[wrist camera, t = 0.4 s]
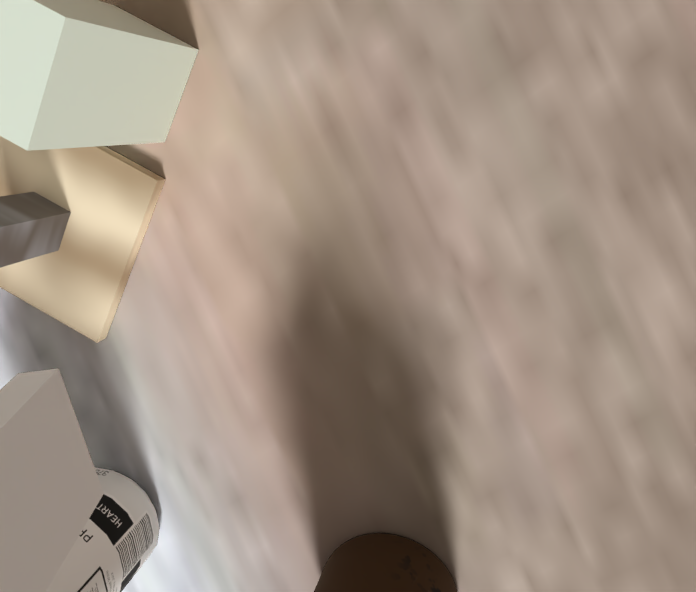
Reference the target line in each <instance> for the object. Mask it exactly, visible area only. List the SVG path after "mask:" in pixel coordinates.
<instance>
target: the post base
mask: <svg viewBox="0 0 696 592" xmlns="http://www.w3.org/2000/svg"><path fill="white" fill-rule="evenodd" d="M164 182H165V179H164V178H162V177H160V176H159V175H157V174H155V173H153V172H151V171H149V170H148V169H146V168H144V167H142V166H140V165H138V164H137V163H135V162H133V161H131V160H129V159H127V158H126V157H124V156H122V155H120V154H118V153H116V152H115V151H113V150H111V149H109V148H107V147H105V146H96V147H79V148H63V149H47V150H31V151H27V150H25V149H23V148H21V147H20V146H18V145H16V144H14V143H12V142H11V141H9V140H7V139H5V138H3V137H1V136H0V287H1V288H2V289H4V290H6V291H8V292H9V293H11V294H13V295H15V296H16V297H18V298H20V299H22V300H23V301H25V302H27V303H29V304H30V305H32V306H34V307H36V308H37V309H39V310H41V311H43V312H44V313H46V314H48V315H50V316H51V317H53V318H55V319H57V320H58V321H60V322H62V323H64V324H65V325H67V326H69V327H71V328H72V329H74V330H76V331H77V332H79V333H81V334H83V335H84V336H86V337H88V338H90V339H91V340H93V341H95V342H97V343H98V342H100V341H102V340H104V339H105V338H106V337H107V334H108V332H109V329H110V326H111V324H112V321H113V318H114V316H115V313H116V310H117V308H118V305H119V302H120V300H121V297H122V294H123V292H124V289H125V286H126V284H127V281H128V278H129V276H130V273H131V270H132V268H133V265H134V262H135V260H136V257H137V254H138V252H139V249H140V246H141V244H142V241H143V238H144V235H145V233H146V230H147V227H148V225H149V222H150V219H151V217H152V214H153V211H154V209H155V206H156V203H157V201H158V198H159V195H160V193H161V190H162V187H163V185H164Z"/></svg>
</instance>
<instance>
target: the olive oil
mask: <svg viewBox="0 0 696 592" xmlns="http://www.w3.org/2000/svg"><path fill="white" fill-rule="evenodd" d="M314 592H457V590H456V586H455V583H454V580H453V578H452V576H451V574H450V572H449V571H448V569H447V568H446V566H445V565H444V564H443V563H442V561H441V560H440V559H439V558H438V557H437V556H436V555H434V554H433V553H432V552H431V551H430V550H428V549H427V548H425V547H424V546H422V545H420V544H419V543H417V542H415V541H412V540H410V539H407V538H405V537H401V536H397V535H392V534H384V533H374V534H366V535H362V536H358V537H355V538H353V539H351V540H349V541H347V542H345V543H344V544H342V545H341V546H340V547H338V548H337V549H336V550H335V551H334V553H333V554H332V555H331V556H330V558H329V559H328V561H327V563H326V565H325V567H324V569H323V572H322V574H321V576H320V579H319V581H318V584H317V586H316V588H315V591H314Z"/></svg>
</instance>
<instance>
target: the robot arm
mask: <svg viewBox="0 0 696 592" xmlns="http://www.w3.org/2000/svg"><path fill="white" fill-rule="evenodd" d="M103 494H104V492H103V489H102V487H101V484H100V481H99V478H98V475H97V473H96V470H95V467H94V464H93V462H92V459H91V456H90V453H89V451H88V448H87V445H86V442H85V439H84V437H83V434H82V431H81V428H80V426H79V423H78V420H77V417H76V415H75V412H74V409H73V406H72V404H71V401H70V398H69V395H68V392H67V390H66V387H65V384H64V381H63V379H62V376H61V373H60V370H59V368H57V369H49V370H41V371H33V372H25V373H18V374H17V375H16V376H15V377H14V378H13V379H12V380H10V381H9V382H8V383H7V384H6V385H5V386H4V387H3V388H2V389H1V390H0V592H46V591H47V589H48V587H49V585H50V584H51V582H52V580H53V579H54V577H55V575H56V574H57V572H58V570H59V569H60V567H61V565H62V563H63V562H64V560H65V558H66V557H67V555H68V553H69V552H70V550H71V548H72V547H73V545H74V543H75V542H76V540H77V538H78V536H79V535H80V533H81V531H82V530H83V528H84V526H85V525H86V523H87V521H88V520H89V518H90V516H91V514H92V513H93V511H94V509H95V508H96V506H97V504H98V503H99V501H100V499H101V498H102V496H103Z"/></svg>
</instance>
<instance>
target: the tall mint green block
mask: <svg viewBox="0 0 696 592" xmlns="http://www.w3.org/2000/svg"><path fill="white" fill-rule="evenodd" d="M197 53H198V49H196V48H194V47H192V46H191V45H189V44H187V43H185V42H183V41H181V40H179V39H177V38H175V37H173V36H172V35H170V34H168V33H166V32H164V31H162V30H160V29H158V28H156V27H154V26H153V25H151V24H149V23H147V22H145V21H143V20H141V19H139V18H137V17H135V16H134V15H132V14H130V13H128V12H126V11H124V10H122V9H120V8H118V7H116V6H115V5H112V4H109V3H106V2H102V1H99V0H0V136H1V137H3V138H5V139H7V140H9V141H11V142H12V143H14V144H16V145H18V146H20V147H21V148H23V149H25V150H27V151H31V150H47V149H63V148H79V147H96V146H112V145H128V144H145V143H161V142H165V141H166V138H167V135H168V132H169V130H170V127H171V124H172V121H173V119H174V116H175V113H176V110H177V108H178V105H179V102H180V100H181V97H182V94H183V91H184V89H185V86H186V83H187V80H188V78H189V75H190V72H191V69H192V67H193V64H194V61H195V59H196V56H197Z"/></svg>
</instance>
